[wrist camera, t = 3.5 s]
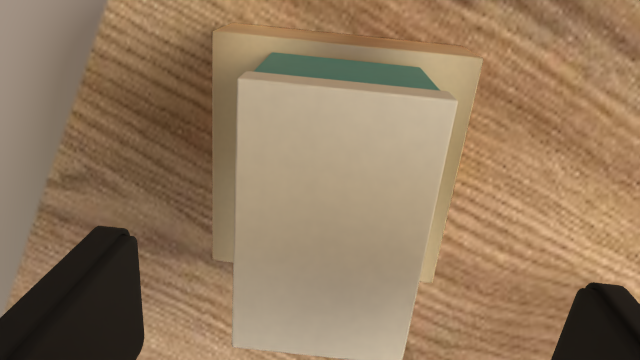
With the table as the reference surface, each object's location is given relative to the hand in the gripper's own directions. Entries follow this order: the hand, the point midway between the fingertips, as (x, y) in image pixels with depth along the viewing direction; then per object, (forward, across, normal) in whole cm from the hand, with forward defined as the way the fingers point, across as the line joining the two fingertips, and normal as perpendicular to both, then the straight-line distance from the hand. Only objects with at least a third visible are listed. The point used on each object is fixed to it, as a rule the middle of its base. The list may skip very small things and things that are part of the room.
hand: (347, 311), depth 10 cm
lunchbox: (+8, +1, 0) cm, 8 cm away
